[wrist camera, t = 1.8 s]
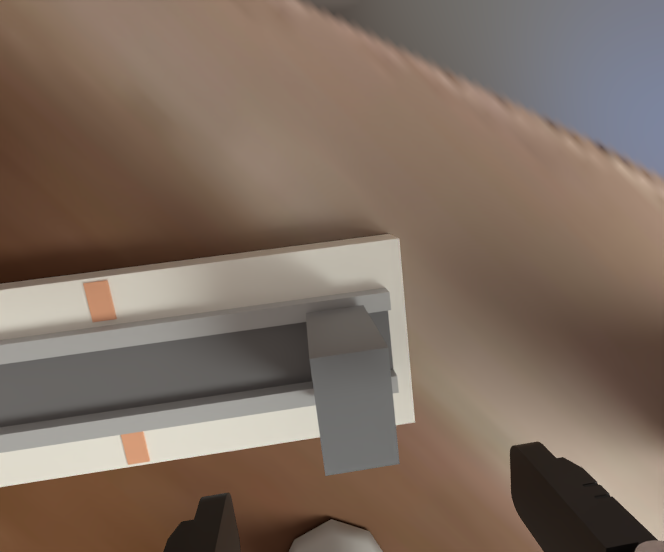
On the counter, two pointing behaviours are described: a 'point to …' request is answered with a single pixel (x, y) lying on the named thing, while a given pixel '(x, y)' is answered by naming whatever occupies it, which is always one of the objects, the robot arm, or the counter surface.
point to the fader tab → (352, 390)
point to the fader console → (182, 355)
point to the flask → (335, 539)
